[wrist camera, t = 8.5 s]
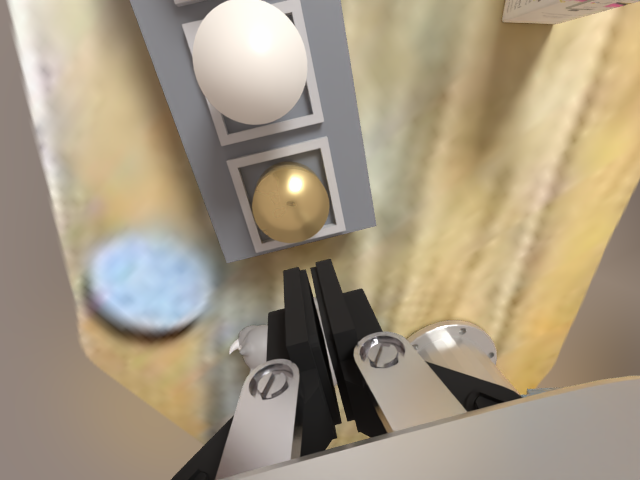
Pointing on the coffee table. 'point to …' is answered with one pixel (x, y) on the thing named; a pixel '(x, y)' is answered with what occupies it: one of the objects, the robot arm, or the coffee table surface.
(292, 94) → the white knob middle
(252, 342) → the round bodied animal figurine
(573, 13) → the ink cartridge box
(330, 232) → the grey compartment tray
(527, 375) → the coffee table surface
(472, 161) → the coffee table surface
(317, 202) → the brass knob
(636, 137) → the coffee table surface
